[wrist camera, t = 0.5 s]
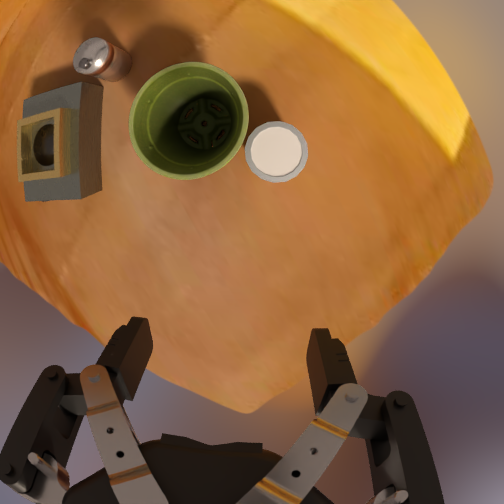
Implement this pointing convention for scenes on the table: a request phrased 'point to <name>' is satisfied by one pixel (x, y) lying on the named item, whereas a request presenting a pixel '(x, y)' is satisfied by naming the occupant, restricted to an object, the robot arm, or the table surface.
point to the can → (102, 60)
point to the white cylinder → (276, 151)
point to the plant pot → (188, 120)
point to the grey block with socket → (61, 143)
